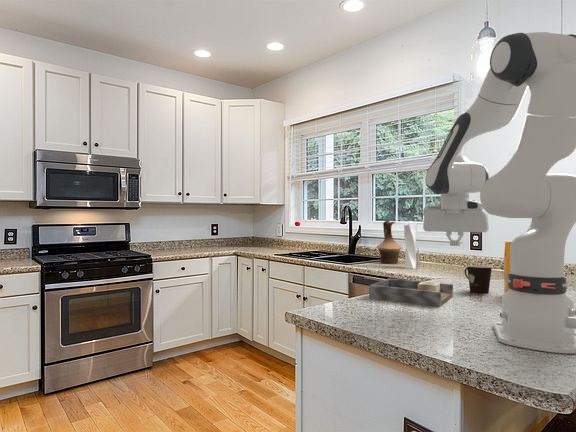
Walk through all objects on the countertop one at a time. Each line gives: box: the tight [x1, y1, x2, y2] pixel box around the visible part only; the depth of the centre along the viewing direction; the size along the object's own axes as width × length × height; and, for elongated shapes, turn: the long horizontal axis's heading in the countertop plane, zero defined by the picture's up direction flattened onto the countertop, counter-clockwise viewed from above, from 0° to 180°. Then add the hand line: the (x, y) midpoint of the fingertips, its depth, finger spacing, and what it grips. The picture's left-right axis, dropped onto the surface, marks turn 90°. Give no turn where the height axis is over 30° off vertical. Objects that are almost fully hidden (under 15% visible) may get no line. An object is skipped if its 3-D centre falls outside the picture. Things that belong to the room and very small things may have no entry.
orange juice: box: [503, 241, 512, 294], centre depth 137 cm, size 8×9×20 cm
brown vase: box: [375, 219, 403, 265], centre depth 250 cm, size 18×17×28 cm
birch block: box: [418, 281, 441, 292], centre depth 134 cm, size 6×6×4 cm
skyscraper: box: [403, 220, 421, 270], centre depth 222 cm, size 8×8×28 cm
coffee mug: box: [464, 264, 493, 295], centre depth 149 cm, size 12×9×10 cm
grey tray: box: [368, 278, 454, 308], centre depth 137 cm, size 24×20×4 cm
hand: (454, 245), depth 129 cm, fingers closed
